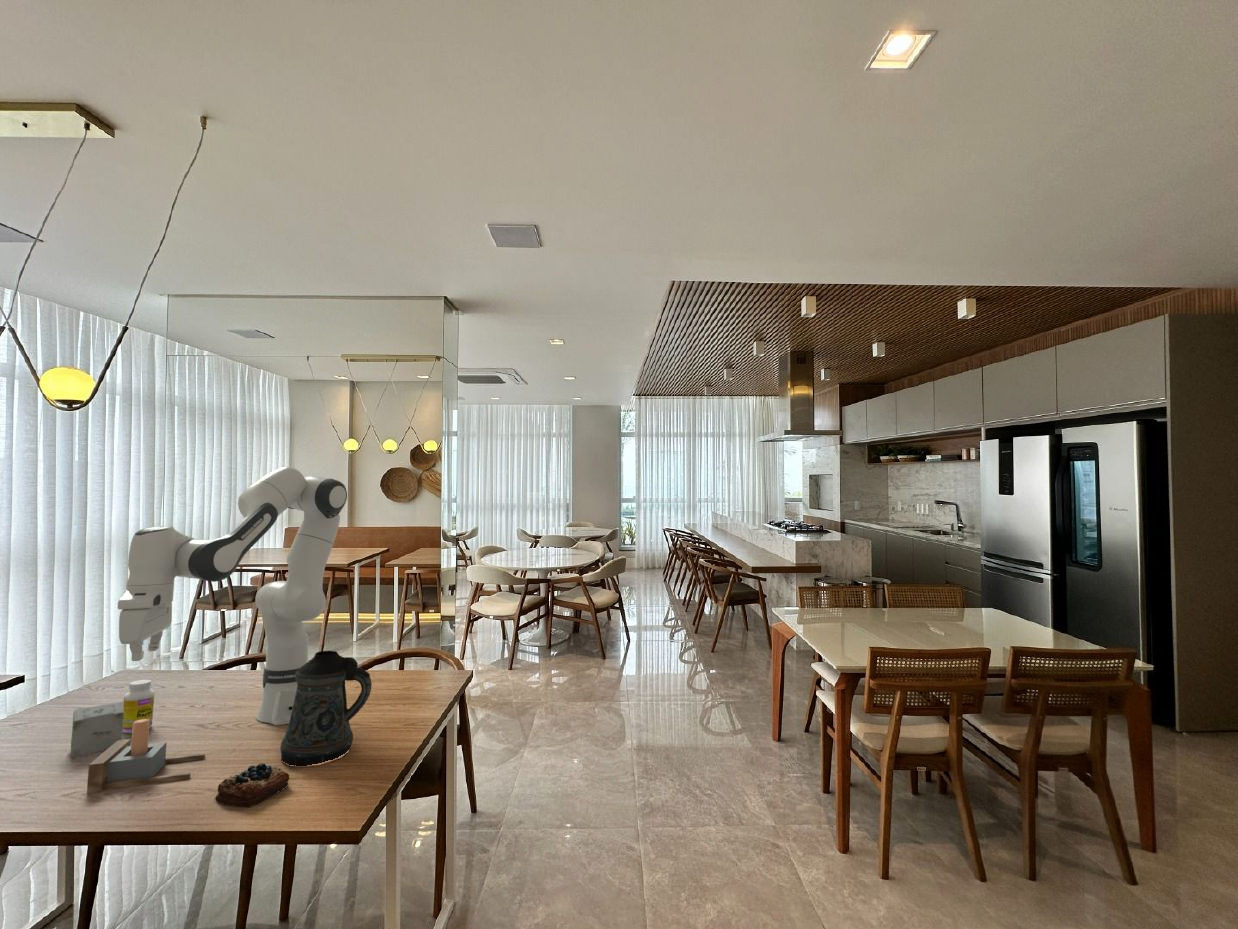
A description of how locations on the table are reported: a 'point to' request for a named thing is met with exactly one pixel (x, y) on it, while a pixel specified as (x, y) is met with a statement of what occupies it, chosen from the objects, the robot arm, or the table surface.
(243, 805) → the pastry
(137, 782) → the rail frame
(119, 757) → the block
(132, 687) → the supplement bottle
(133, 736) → the dowel
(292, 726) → the beer stein
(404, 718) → the table surface
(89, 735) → the incense holder
